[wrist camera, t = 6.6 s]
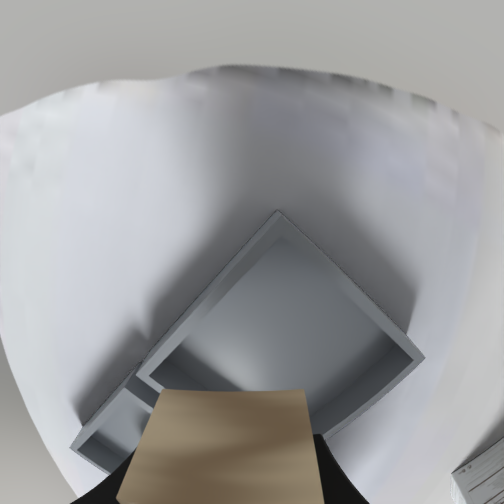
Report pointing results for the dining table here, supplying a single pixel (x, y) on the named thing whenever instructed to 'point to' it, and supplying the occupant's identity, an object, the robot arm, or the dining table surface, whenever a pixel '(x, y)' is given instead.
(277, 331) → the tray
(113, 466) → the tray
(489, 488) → the supplement box
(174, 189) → the dining table surface
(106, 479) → the robot arm
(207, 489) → the letter cube
